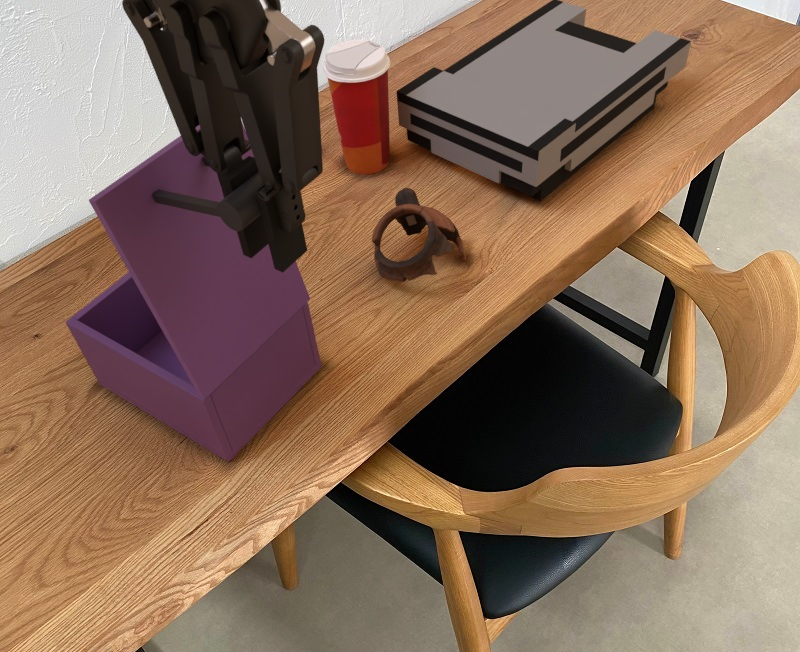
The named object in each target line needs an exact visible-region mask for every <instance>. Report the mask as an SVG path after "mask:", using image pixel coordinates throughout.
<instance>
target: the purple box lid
mask: <svg viewBox="0 0 800 652" xmlns="http://www.w3.org/2000/svg"><path fill="white" fill-rule="evenodd" d="M242 127H243V134H244V139H246V140H248V137H247V134H246V131H245V128H244V125H243V122H242ZM196 130H197V131H199V130H200V125H198V126H197V127H196ZM248 141H249V140H248ZM249 145H250V144H249ZM249 145H248V146H249ZM248 156H251V157H253V158H254V155H253V152H252V149H250V150H249V151H248V152H246V153H245V154H244V155H242V160H244V159H246V158H247V157H248ZM261 185H263V183H262V180H261V177H260V174H259V172H257V173H256V174H255V175H253V176H252V177H251V178H250V179H248V180H247V181H246V182H245V183H243V184H242V185H241V186H239V187H238V188H237V189H236V190H234V191H233V192H232V193H230V194H229V195H228V196H227V197H225V198H224V196H223V192H222V189H221V188H222V187H221V186H220V182H219V179H218V175H217V172H215V171H213V170H212V169H211V168H210V166H209V165H208V162H207V158H206V157H205V156H203V155H202V154H199V155H198V156H193V155H191V154H190V153H189V152H188V150H187V149H186V147H185V145H184V142H183V140H182V137H181V135H179V136H177V138H175V139H173V140H172V141H171V142H169V143H167V145H165V146H164V147H162V148H160V150H158V151H157V152H155V153H153V154H151V156H149V157H148V158H147V159H145V160H143V161H142V162H141V163H139V164H137V166H135V167H133V168H132V169H131V170H129V171H128V172H126V173H125V174H123V175H122V176H121V177H119V178H118V179H116V180H115V181H114V182H112V183H111V184H109V185H108V186H106V187H105V188H104V189H102V190H101V191H99V192H98V193H96V194H95V195H94V196H92V197H90V198H89V199H88V202H89V204H90V206H91V208H92V209H93V211H94V213H95V215H96V216H97V218H98V220H99V221H100V223H101V225H102V227H103V229H104V230H105V232H106V234H107V235H108V238H109V239H110V241H111V243H112V245H113V246H114V248H115V250H116V251H117V254H118V255H119V257H120V259H121V261H122V262H123V264H124V266H125V267H126V269H127V271H128V272H129V273H130V274H131V276H132V278H133V280H134V282H135V283H136V285H137V287H138V289H139V290H140V292H141V294H142V296H143V297H144V299H145V301H146V303H147V305H148V306H149V308H150V310H151V312H152V313H153V315H154V317H155V319H156V320H157V322H158V324H159V326H160V328H161V329H162V331H163V333H164V335H165V336H166V338H167V340H168V342H169V343H170V345H171V347H172V349H173V351H174V352H175V354H176V356H177V358H178V359H179V361H180V363H181V365H182V366H183V368H184V370H185V372H186V374H187V375H188V377H189V379H190V381H191V382H192V384H193V386H194V388H195V389H196V391H197V393H198V395H199V396H200V397H203V398H207V397H208V396H209V395H210V394H211V393H212V392H213V391H214V390H215V389H216V388H217V387H218V386H219V385H220V384H221V383H222V382H223V381H224V380H226V379H227V378H228V377H229V376H230V375H231V374H232V373H233V372H234V371H235V370H236V369H237V368H238V367H239V366H240V365H241V364H242V363H243V362H245V361H246V360H247V359H248V358H249V357H250V356H251V355H252V354H253V353H254V352H255V351H256V350H257V349H258V348H259V347H260V346H261V345H262V344H263V343H265V342H266V341H267V340H268V339H269V338H270V337H271V336H272V335H273V334H274V333H275V332H276V331H277V330H278V329H279V328H280V327H281V326H282V325H284V324H285V323H286V322H287V321H288V320H289V319H290V318H291V317H292V316H293V315H294V314H295V313H296V312H297V311H298V310H299V309H300V308H301V307H302V306H304V305H305V304H306V303H307V302H308V303H309V301H310V300H311V297H310V294H309V292H308V289H307V287H306V284H305V282H304V281H305V280H304V279H303V276H302V274H301V271H300V269H299V266H298V264H297V260H296V261H295V262H294V263H293V264H292V265H291V266H290V267H289V268H288V269H286V270H285V271H284V272H280V271H278V270H276V269H275V268H274V264H273V260H272V256H271V252H270V248H269V244H268V245H266V246H265V247H264V248H263V249H262V250H261V251H259V252H258V253H257V254H256V255H255V256H254V257H252V258H249V257H247V256H245V255H243V251H242V248H241V244H240V241H239V237H238V234H237V231H241V230H243V229H244V228H245V227H246V226H248V225H249V224H250V223H251V222H253V221H254V220H255V219H256V218H257V217H259V216H260V215H261V212H260V208H259V205H258V201H257V197H256V193H255V190H256V189H258V188H259V187H260V186H261Z"/></svg>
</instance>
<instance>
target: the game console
mask: <svg viewBox="0 0 800 652" xmlns="http://www.w3.org/2000/svg"><path fill="white" fill-rule="evenodd" d="M586 15H587V8H585V7H582V6H579V5H575V4H572V3H569V2H567V1H566V2H565V1H562V0H550V1H549V2H547V3H546V4H544V5H543V6H541V7H540V8H538V9H537V10H535V11H533V12H532V13H531V14H529V15H528V16H525V17H524V18H522V19H521V20H520V21H518V22H516V23H515V24H513V25H512V26H510V27H509V28H507V29H505V30H504V31H503V32H501V33H499V34H498V35H496V36H495V37H493V38H491V39H490V40H488V41H487V42H486V43H484V44H482V45H481V46H479V47H478V48H476V49H474V50H473V51H472V52H470V53H469V54H467V55H465V56H464V57H462V58H460V59H459V60H458V61H455V62H454V63H453V64H451V65H450V66H448V67H446V68H445V69H440V68H438V67H435V66H433V67H431V68H430V69H428V70H427V71H425V72H424V73H422V74H421V75H419V76H417V77H416V78H414V79H413V80H411V81H410V82H409V83H407V84H405V85H404V86H402V87H400V88H399V89H398V90H396V91H395V92H396V103H397V116H398V117H397V118H398V126H399V127H402V128H404V129H406V138H407V139H406V140H407V141H409V142H411V143H414V144H416V145H418V147H420V148H423V149H425V150H427V151H429V152H431V154H434V155H435V156H438V157H440V158H443V159H444V160H447V161H449V162H451V163H453V164H455V165H458V166H459V167H462V168H464V169H466V170H469V171H470V172H473V173H475V174H477V175H479V176H482V177H483V178H486V179H488V180H489V181H490V180H491V181H492V182H494V183H497V184H501V185H503V186H505V187H508V188H509V189H512V190H515V191H516V192H518V193H520V194H523V195H524V196H527V197H530V198H531V199H534V200H536V201H538V202H542V201H543V200H545V198H547V197H548V196H549V195H550V194H552V193H553V192H554V191H555V190H557V189H558V188H559V187H560V186H561V185H562V184H564V183H565V182H566V181H568V179H570V178H571V177H572V176H573V175H575V174H576V173H577V172H578V171H580V170H581V169H582V168H583V167H584V166H586V165H587V164H588V163H590V161H592V160H593V159H594V158H595V157H596V156H598V155H599V154H600V153H601V152H602V151H604V150H605V149H606V148H607V147H609V146H610V145H611V144H612V143H614V142H615V141H616V140H617V139H619V138H620V137H621V136H623V134H625V133H626V132H627V131H628V130H630V128H633V126H635V124H637V123H638V122H639V121H640V120H642V119H643V118H644V117H646V115H648V114H649V113H651V111H653V110H654V109H655V107H656V101H657V96H658V95H659V94H661V92H663V91H664V90H665V89H667V87H668V84H669V81H670V80H671V79H672V78H674V77H676V75H678V74H679V73H680V72H681V71H682V70H683V69H685V68H686V67H687V63H688V58H689V53H690V48H691V44H692V41H691V40H688V39H684V38H681V37H678V36H676V35H671V34H669V33H665V32H662V31H659V30H656V29H654V30H653V31H651V32H649V34H647V35H646V36H644V37H643V38H642V39H640V40H639V41H638V42H634V41H632V40H629V39H625V38H622V37H619V36H615V35H613V34H610V33H607V32H604V31H601V30H597V29H595V28H591V27H588V26H585V24H586Z"/></svg>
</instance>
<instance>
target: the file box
mask: <svg viewBox="0 0 800 652" xmlns="http://www.w3.org/2000/svg"><path fill="white" fill-rule="evenodd" d="M64 322H65V325H66V326H67V328H68V330H69V331H70V334H71V335H72V337H73V339H74V340H75V342H76V344H77V346H78V348H79V350H80V352H81V354H82V355H83V357H84V359H85V360H86V363H87V364H88V366H89V367H90V370H91V371H92V373H93V375H94V377H95V379H96V380H97V382H98V384H99V385H100V386H102V387H103V388H105V389H106V390H108V391H110V392H112V393H113V394H115V395H116V396H118V397H119V398H121V399H123V400H125V401H127V402H128V403H130V404H131V405H133V406H134V407H137V408H138V409H140V410H141V411H142V412H145V413H146V414H148V415H150V416H151V417H153V418H155V419H156V420H158V421H160V422H161V423H163V424H164V425H166V426H168V427H169V428H171V429H173V430H175V432H178V433H179V434H181V435H183V436H184V437H186V438H188V439H190V440H191V441H193V442H195V444H198V445H199V446H201V447H203V448H204V449H206V450H207V451H209V452H211V453H213V454H214V455H216V456H217V457H219V458H220V459H222V460H224V461H225V462H227V463H229V462H230V461H231V460H233V459H234V457H236V456H237V455H238V454H239V452H240V451H241V450H242V449H243V448H244V447H246V445H247V444H248V443H249V442H250V441H251V440H252V439H253V438H254V437H255V436H256V435H257V434H258V433H259V432H260V431H262V429H263V428H264V427H265V426H266V425H267V424H268V423H269V421H270V420H272V418H274V416H276V414H278V412H279V411H280V410H281V409H282V408H283V407H284V406H285V405H286V404H287V403H289V401H290V400H291V399H292V398H293V397H294V396H295V395H296V393H298V392H299V391H300V390H301V389H302V388H303V387H304V385H306V383H307V382H309V380H310V379H311V378H312V377H313V376H315V374H317V372H319V370H320V369H321V368H322V362H321V357H320V352H319V347H318V342H317V338H316V334H315V329H314V324H313V318H312V315H311V310H310V306H309V301H308V302H307V303H306V304H305V305H304V306H302V307H301V308H300V309H299V310H298V311H297V312H296V313H295V314H294V315H293V316H292V317H291V318H290V319H289V320H288V321H287V322H286V323H285V324H284V325H282V326H281V327H280V328H279V329H278V330H277V331H276V332H275V333H274V334H273V335H272V336H271V337H270V338H269V339H268V340H267V341H266V342H265V343H263V344H262V345H261V346H260V347H259V348H258V349H257V350H256V351H255V352H254V353H253V354H252V355H251V356H250V357H249V358H248V359H247V360H246V361H245V362H243V363H242V364H241V365H240V366H239V367H238V368H237V369H236V370H235V371H234V372H233V373H232V374H231V375H230V376H229V377H228V378H227V379H226V380H224V381H223V382H222V383H221V384H220V385H219V386H218V387H217V388H216V389H215V390H214V391H213V392H212V393H211V394H210V395H209V396H208V397H207V398H203V397H200V396H199V395H198V393H197V391H196V389H195V388H194V386H193V384H192V382H191V381H190V379H189V377H188V375H187V374H186V372H185V370H184V368H183V366H182V365H181V363H180V361H179V359H178V358H177V356H176V354H175V352H174V351H173V349H172V347H171V345H170V343H169V342H168V340H167V338H166V336H165V335H164V333H163V331H162V329H161V328H160V326H159V324H158V322H157V320H156V319H155V317H154V315H153V313H152V312H151V310H150V308H149V306H148V305H147V303H146V301H145V299H144V297H143V296H142V294H141V292H140V290H139V289H138V287H137V285H136V283H135V282H134V280H133V278H132V276H131V274H130V273H129V271H128V272H126V274H124V275H123V276H122V277H120V278H118V280H116V281H115V282H114V283H113V284H111V285H109V287H108V288H106V289H105V290H104V291H103V292H101V293H100V294H99V295H98V296H96V297H95V298H93V299H92V300H91V301H89V302H88V303H87V304H86V305H85V306H83V307H82V308H81V309H79V310H78V311H77V312H76V313H74V314H73V315H72V316H70V317H69V318H68V319H66V321H64Z"/></svg>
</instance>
